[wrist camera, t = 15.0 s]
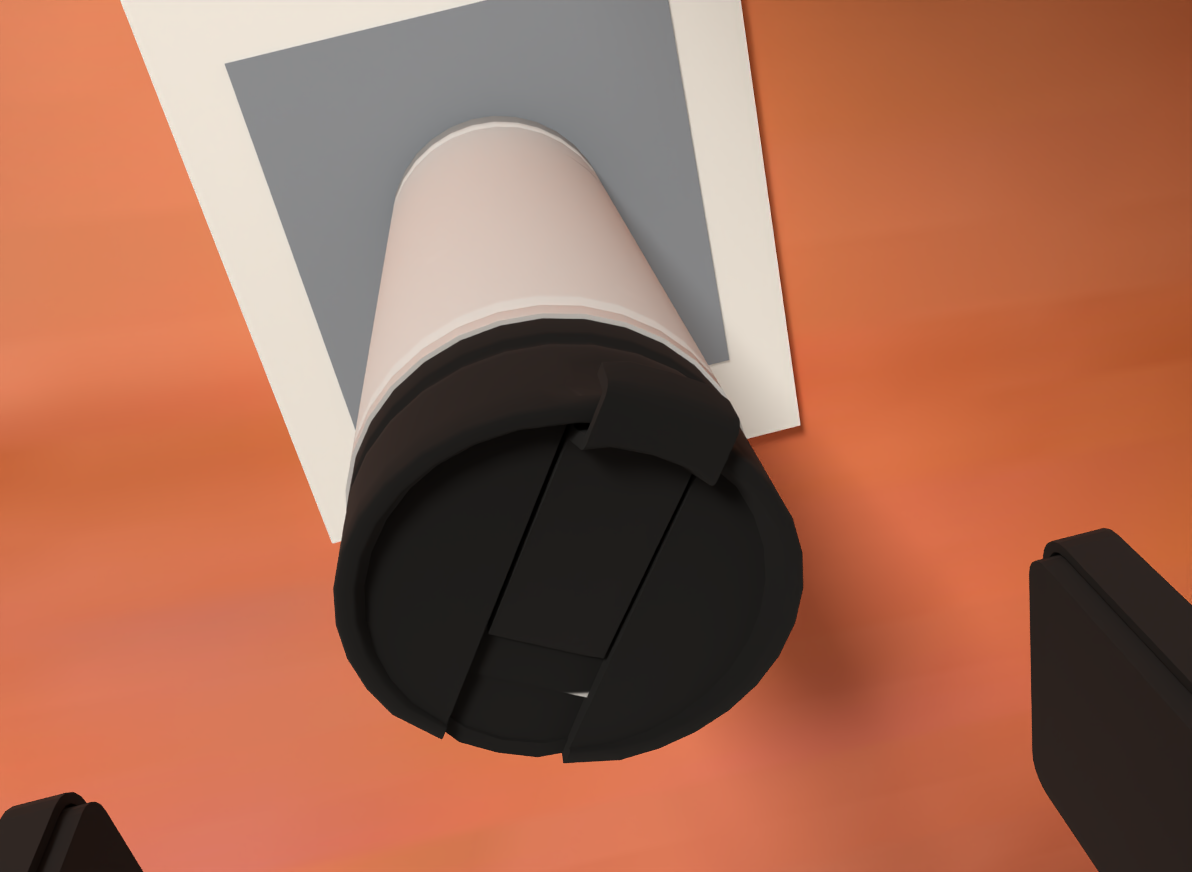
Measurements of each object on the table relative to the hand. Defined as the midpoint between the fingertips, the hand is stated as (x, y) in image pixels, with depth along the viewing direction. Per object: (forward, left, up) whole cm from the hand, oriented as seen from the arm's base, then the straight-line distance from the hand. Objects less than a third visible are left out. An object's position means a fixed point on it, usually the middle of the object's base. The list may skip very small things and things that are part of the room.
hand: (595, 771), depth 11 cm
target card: (+1, 0, -24) cm, 24 cm away
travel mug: (0, 0, -23) cm, 23 cm away
